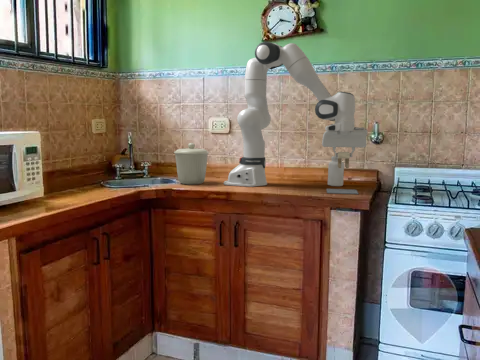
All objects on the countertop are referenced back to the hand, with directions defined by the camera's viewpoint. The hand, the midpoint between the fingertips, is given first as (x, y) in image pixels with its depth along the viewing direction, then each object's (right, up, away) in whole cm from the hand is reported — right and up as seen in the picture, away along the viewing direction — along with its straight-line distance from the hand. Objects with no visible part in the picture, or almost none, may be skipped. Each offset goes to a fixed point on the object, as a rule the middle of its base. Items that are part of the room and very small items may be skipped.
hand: (343, 157), depth 214 cm
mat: (0, -16, +2) cm, 17 cm away
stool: (0, -5, 0) cm, 5 cm away
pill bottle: (+1, -14, +24) cm, 28 cm away
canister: (-74, -13, +25) cm, 79 cm away
